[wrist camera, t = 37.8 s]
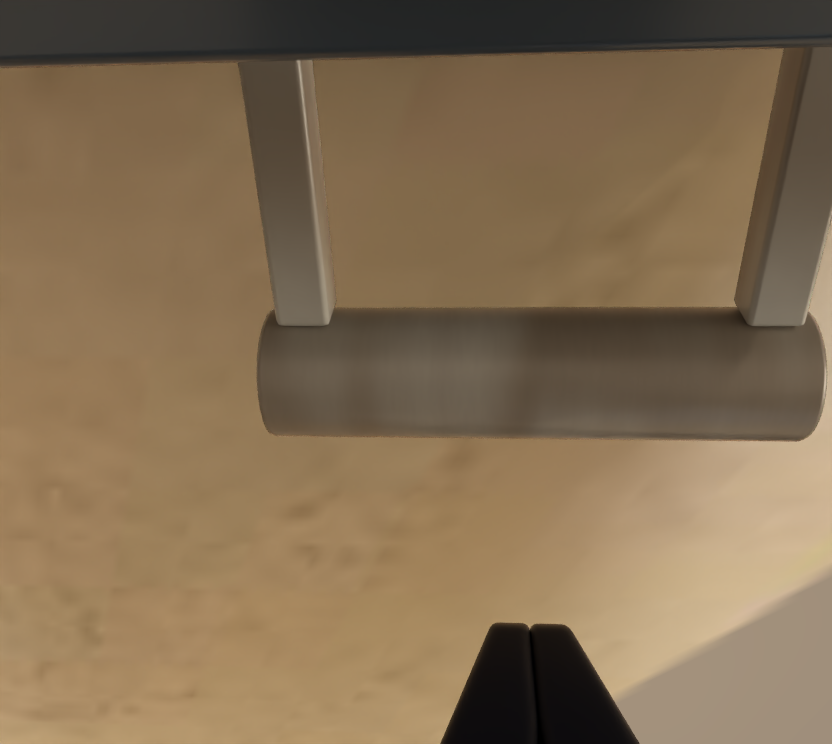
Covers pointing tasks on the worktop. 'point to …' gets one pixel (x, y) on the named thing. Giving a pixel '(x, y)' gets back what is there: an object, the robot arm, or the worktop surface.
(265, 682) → the worktop surface
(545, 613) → the worktop surface
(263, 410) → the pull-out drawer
